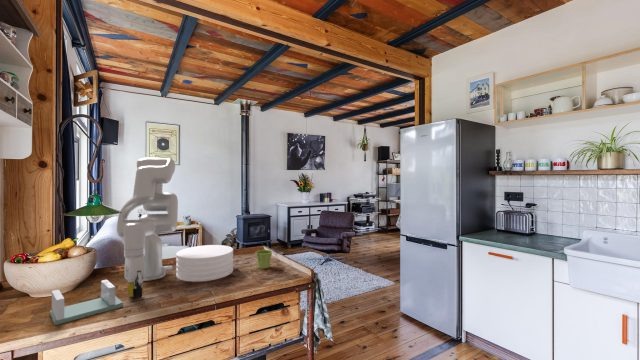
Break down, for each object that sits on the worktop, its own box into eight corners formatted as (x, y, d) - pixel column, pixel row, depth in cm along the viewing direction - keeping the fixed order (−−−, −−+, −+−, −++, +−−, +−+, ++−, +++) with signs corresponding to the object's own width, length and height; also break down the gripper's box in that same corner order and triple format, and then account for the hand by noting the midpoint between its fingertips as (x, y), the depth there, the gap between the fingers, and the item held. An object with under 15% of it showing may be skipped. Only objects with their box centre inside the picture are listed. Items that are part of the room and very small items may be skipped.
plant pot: (257, 264, 172) (257, 249, 172) (274, 265, 172) (274, 249, 172) (253, 269, 163) (253, 253, 163) (270, 270, 163) (270, 254, 163)
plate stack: (222, 282, 145) (222, 258, 145) (165, 281, 145) (165, 258, 145) (239, 264, 173) (239, 245, 173) (191, 264, 173) (191, 244, 173)
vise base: (114, 298, 125) (114, 277, 125) (122, 306, 117) (122, 284, 117) (50, 314, 110) (49, 291, 110) (54, 325, 102) (54, 300, 102)
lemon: (125, 297, 126) (125, 278, 125) (140, 294, 129) (140, 275, 129) (129, 301, 122) (129, 282, 122) (144, 297, 126) (144, 278, 125)
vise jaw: (107, 295, 123) (106, 279, 123) (115, 303, 115) (115, 286, 115) (101, 296, 122) (100, 280, 122) (109, 305, 114) (109, 288, 114)
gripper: (118, 250, 128) (118, 292, 129) (131, 257, 117) (131, 304, 117) (138, 247, 134) (138, 287, 134) (152, 254, 122) (152, 298, 123)
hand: (135, 295), depth 126 cm, fingers closed on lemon, 5 cm apart
